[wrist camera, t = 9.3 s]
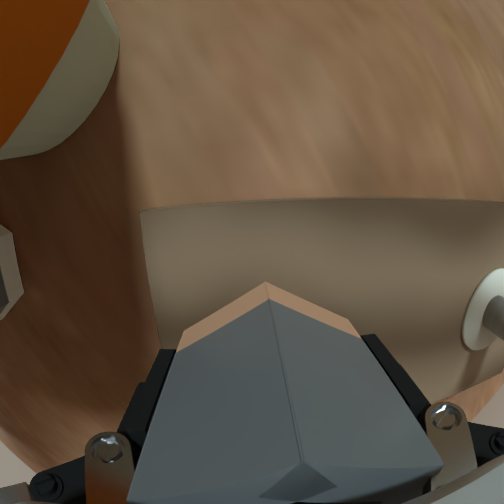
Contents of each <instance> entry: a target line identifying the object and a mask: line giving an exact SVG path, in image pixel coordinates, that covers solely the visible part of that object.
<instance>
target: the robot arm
mask: <svg viewBox="0 0 504 504" xmlns="http://www.w3.org/2000/svg"><path fill="white" fill-rule="evenodd" d="M360 337H361V338H362V340H363V341H364V343H365V344H366V345H367V347H368V348H369V350H370V351H371V353H372V354H373V355H374V357H375V358H376V360H377V361H378V363H379V364H380V366H381V367H382V368H383V370H384V371H385V373H386V374H387V376H388V377H389V379H390V380H391V382H392V383H393V385H394V386H395V388H396V389H397V391H398V392H399V394H400V395H401V397H402V398H403V400H404V401H405V403H406V404H407V406H408V407H409V409H410V410H411V412H412V413H413V415H414V416H415V418H416V419H417V421H418V422H419V424H420V426H421V427H422V429H423V430H424V432H425V433H426V435H427V437H428V438H429V440H430V441H431V443H432V445H433V446H434V448H435V449H436V451H437V453H438V454H439V456H440V457H441V459H442V461H443V462H444V464H445V466H444V467H443V468H442V469H441V471H440V472H439V473H438V474H436V475H434V476H432V477H430V479H429V480H428V481H427V482H426V484H425V485H424V486H423V488H422V493H423V494H422V495H421V496H419V497H417V498H415V499H412V500H410V501H407V502H404V503H402V504H504V429H503V428H497V427H492V426H485V425H481V424H475V423H471V422H467V418H466V415H465V413H464V411H463V410H462V409H461V408H460V407H459V406H458V405H456V404H454V403H450V402H438V403H435V404H433V405H431V404H430V402H429V401H428V400H427V398H426V397H425V396H424V394H423V393H422V392H421V390H420V389H419V388H418V386H417V385H416V384H415V383H414V381H413V380H412V379H411V377H410V376H409V375H408V373H407V372H406V371H405V370H404V368H403V367H402V366H401V365H400V364H399V363H398V362H397V361H396V360H395V358H394V357H393V356H392V354H391V353H390V352H389V351H388V349H387V348H386V347H385V346H384V344H383V343H382V342H381V341H380V339H379V338H378V337H377V336H376V335H375V334H367V335H361V336H360ZM176 351H177V350H176V349H160V351H159V353H158V355H157V357H156V359H155V362H154V364H153V366H152V368H151V370H150V373H149V375H148V377H147V379H146V382H145V383H143V382H141V383H139V385H138V386H137V388H136V390H135V393H134V395H133V397H132V399H131V401H130V403H129V406H128V408H127V410H126V412H125V414H124V417H123V419H122V421H121V423H120V426H119V428H118V430H117V432H103V433H99V434H97V435H95V436H93V437H92V438H91V439H90V440H89V441H88V443H87V444H86V448H85V456H83V457H80V458H78V459H75V460H73V461H70V462H67V463H65V464H62V465H59V466H56V467H53V468H50V469H47V470H44V471H42V472H40V473H38V474H36V475H35V476H34V477H33V478H32V480H31V482H30V484H29V485H28V484H27V483H26V482H23V483H19V484H15V485H11V486H7V487H3V488H0V504H129V503H128V502H127V501H126V500H127V496H128V493H129V490H130V486H131V483H132V480H133V477H134V473H135V470H136V467H137V464H138V461H139V458H140V454H141V451H142V448H143V445H144V442H145V439H146V436H147V433H148V430H149V427H150V424H151V421H152V418H153V415H154V412H155V410H156V407H157V404H158V401H159V398H160V395H161V392H162V390H163V387H164V384H165V381H166V378H167V376H168V373H169V370H170V367H171V364H172V362H173V359H174V356H175V354H176Z"/></svg>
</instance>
